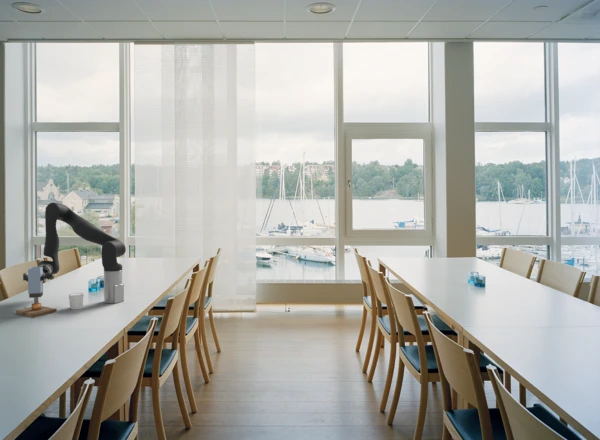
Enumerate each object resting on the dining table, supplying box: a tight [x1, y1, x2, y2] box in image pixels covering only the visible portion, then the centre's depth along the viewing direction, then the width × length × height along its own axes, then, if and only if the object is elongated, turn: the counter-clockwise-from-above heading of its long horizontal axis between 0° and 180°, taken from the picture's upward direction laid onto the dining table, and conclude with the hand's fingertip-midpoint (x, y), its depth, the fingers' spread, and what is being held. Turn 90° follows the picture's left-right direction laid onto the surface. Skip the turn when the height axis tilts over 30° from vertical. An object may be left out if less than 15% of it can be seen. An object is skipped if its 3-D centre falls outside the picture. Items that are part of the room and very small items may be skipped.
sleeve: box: [27, 266, 44, 295], centre depth 207 cm, size 5×5×12 cm
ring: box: [28, 290, 44, 299], centre depth 207 cm, size 5×5×2 cm
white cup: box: [68, 292, 85, 310], centre depth 217 cm, size 7×7×7 cm
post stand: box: [15, 297, 58, 318], centre depth 207 cm, size 14×11×16 cm
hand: (34, 279), depth 204 cm, fingers closed on sleeve, 5 cm apart
